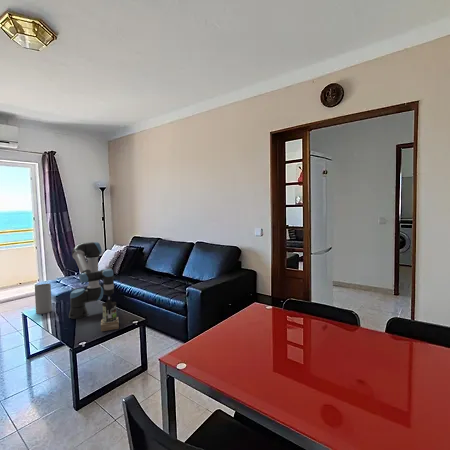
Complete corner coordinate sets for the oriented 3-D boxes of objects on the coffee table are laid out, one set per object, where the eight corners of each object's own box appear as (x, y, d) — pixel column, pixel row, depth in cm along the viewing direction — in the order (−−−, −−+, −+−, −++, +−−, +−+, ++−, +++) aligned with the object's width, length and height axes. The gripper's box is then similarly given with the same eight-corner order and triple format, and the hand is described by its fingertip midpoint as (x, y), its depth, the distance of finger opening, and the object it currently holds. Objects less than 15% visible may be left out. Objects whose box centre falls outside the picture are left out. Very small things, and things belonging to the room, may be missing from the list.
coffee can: (119, 318, 236) (118, 301, 235) (111, 323, 226) (111, 305, 225) (107, 317, 238) (107, 300, 237) (100, 322, 228) (99, 304, 227)
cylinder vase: (46, 314, 262) (45, 287, 261) (32, 314, 263) (31, 287, 261) (54, 309, 275) (53, 283, 274) (41, 309, 275) (40, 283, 274)
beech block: (101, 325, 235) (101, 319, 235) (118, 322, 240) (118, 316, 240) (101, 331, 223) (100, 324, 223) (118, 328, 228) (118, 322, 228)
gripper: (103, 285, 240) (104, 310, 241) (103, 293, 217) (104, 321, 218) (113, 284, 243) (114, 309, 244) (114, 292, 220) (114, 319, 221)
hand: (109, 315), depth 231 cm, fingers open, 13 cm apart
